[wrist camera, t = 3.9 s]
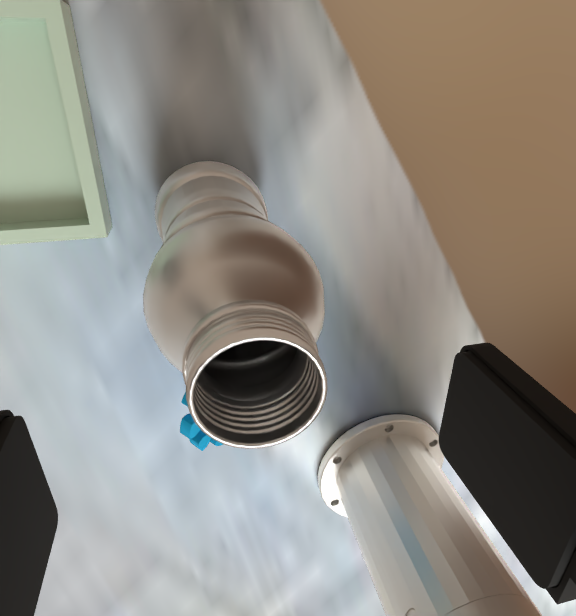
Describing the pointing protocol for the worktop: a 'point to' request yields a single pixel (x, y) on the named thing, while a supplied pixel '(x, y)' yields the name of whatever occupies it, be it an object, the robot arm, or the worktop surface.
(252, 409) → the plastic bottle
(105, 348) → the worktop surface
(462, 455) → the robot arm
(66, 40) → the tray
